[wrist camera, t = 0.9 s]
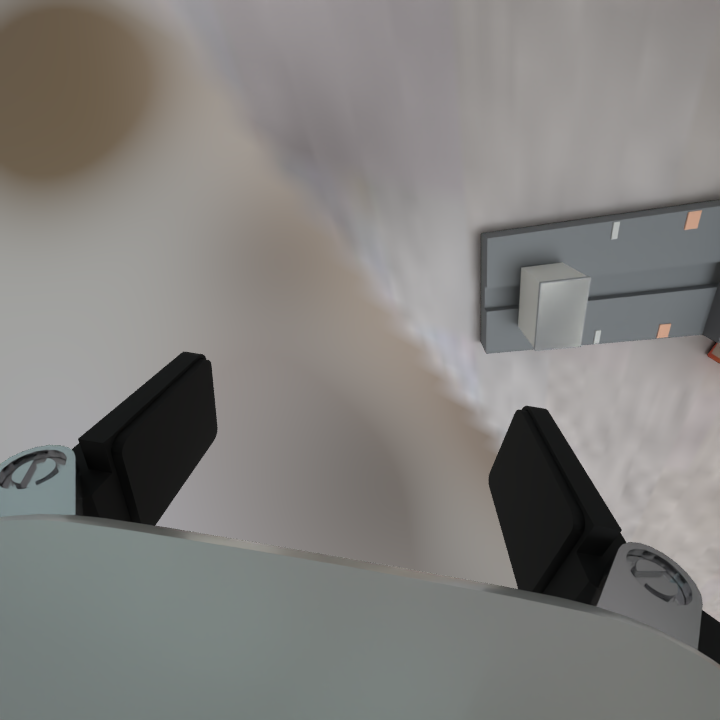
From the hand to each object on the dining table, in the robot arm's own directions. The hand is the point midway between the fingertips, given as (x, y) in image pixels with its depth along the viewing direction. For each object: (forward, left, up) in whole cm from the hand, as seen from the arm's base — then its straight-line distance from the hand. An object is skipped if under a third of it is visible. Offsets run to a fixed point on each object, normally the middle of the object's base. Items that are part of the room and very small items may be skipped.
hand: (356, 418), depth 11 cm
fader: (-12, +4, -21) cm, 24 cm away
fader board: (-17, +4, -23) cm, 29 cm away
